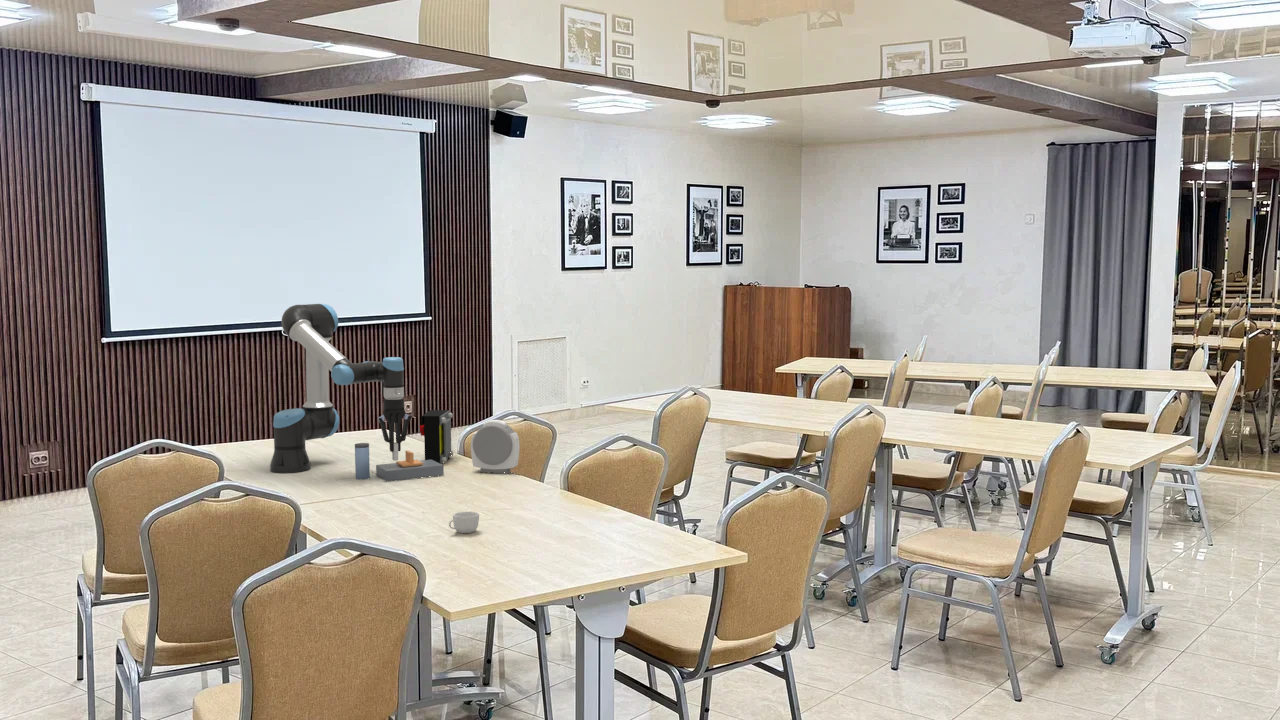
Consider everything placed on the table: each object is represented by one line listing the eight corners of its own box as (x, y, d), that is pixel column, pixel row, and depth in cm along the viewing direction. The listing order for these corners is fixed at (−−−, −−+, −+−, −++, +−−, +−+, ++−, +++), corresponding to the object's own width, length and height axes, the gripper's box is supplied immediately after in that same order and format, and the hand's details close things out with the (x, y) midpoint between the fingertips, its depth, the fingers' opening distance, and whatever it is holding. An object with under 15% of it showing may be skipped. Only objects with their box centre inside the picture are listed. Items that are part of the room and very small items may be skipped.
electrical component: (445, 465, 421) (444, 416, 419) (420, 465, 421) (419, 416, 419) (454, 457, 438) (453, 410, 437) (429, 457, 439) (429, 410, 437)
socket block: (376, 475, 401) (375, 464, 401) (431, 469, 412) (431, 459, 412) (386, 481, 389) (386, 470, 389) (443, 475, 400) (443, 465, 400)
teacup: (469, 527, 321) (469, 510, 320) (484, 531, 315) (484, 514, 315) (441, 533, 314) (441, 515, 313) (456, 537, 308) (456, 519, 308)
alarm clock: (520, 470, 410) (520, 419, 408) (514, 474, 402) (513, 422, 400) (477, 469, 413) (476, 418, 411) (469, 473, 405) (469, 421, 403)
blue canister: (354, 477, 396) (353, 443, 395) (367, 476, 399) (366, 442, 398) (357, 480, 392) (356, 445, 391) (371, 478, 394) (370, 444, 393)
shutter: (396, 463, 401) (395, 451, 401) (416, 461, 405) (416, 449, 405) (402, 467, 395) (402, 454, 394) (423, 465, 399) (422, 452, 398)
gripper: (379, 400, 388) (381, 463, 390) (413, 398, 395) (415, 459, 397) (374, 398, 395) (375, 460, 397) (407, 396, 401) (409, 456, 403)
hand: (395, 459), depth 397 cm, fingers closed
